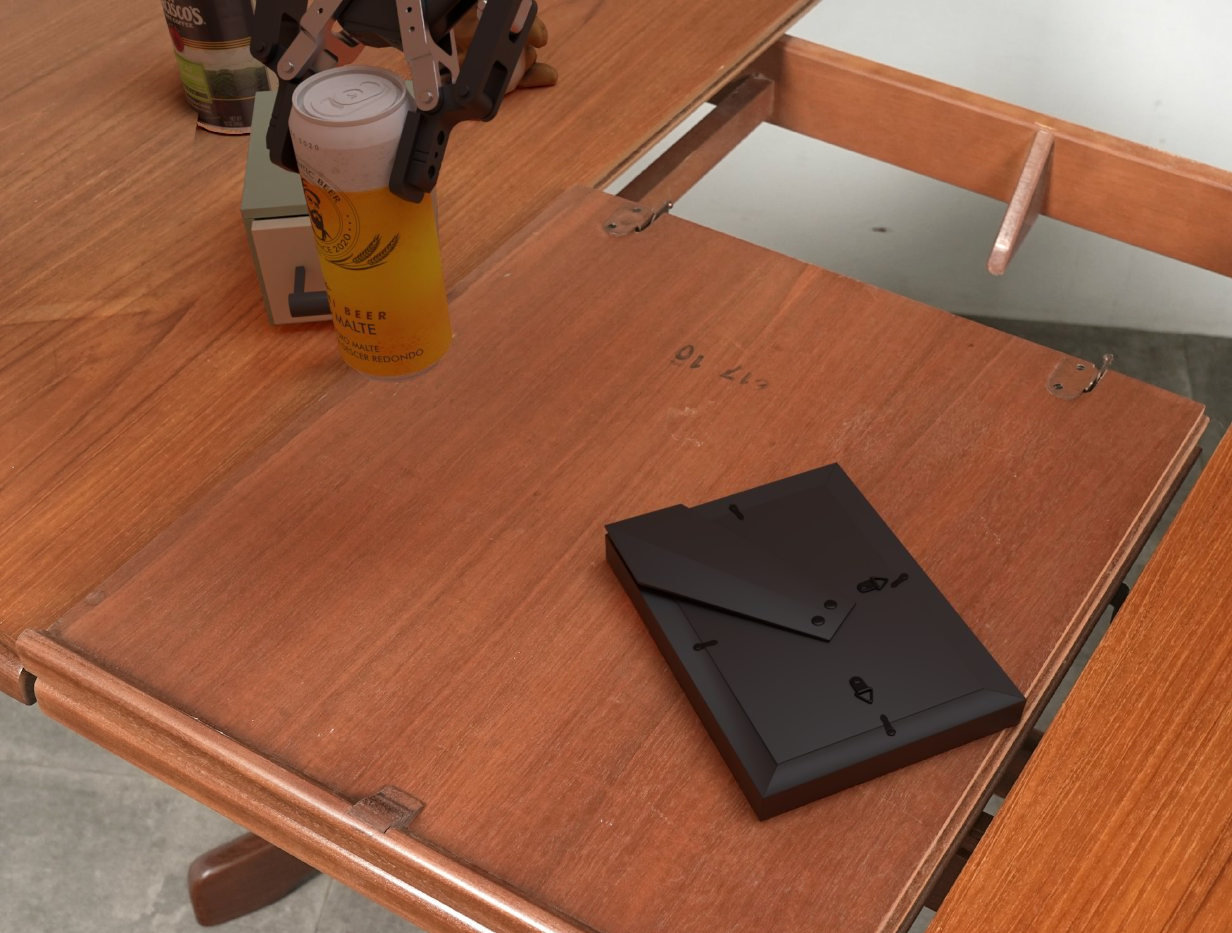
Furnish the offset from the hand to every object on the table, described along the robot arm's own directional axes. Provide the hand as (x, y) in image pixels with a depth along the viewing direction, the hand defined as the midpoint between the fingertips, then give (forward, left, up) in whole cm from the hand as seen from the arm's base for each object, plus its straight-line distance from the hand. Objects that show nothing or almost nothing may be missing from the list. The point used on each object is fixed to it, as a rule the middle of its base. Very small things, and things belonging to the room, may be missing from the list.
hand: (344, 182), depth 65 cm
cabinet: (-4, +34, -25) cm, 42 cm away
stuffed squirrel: (+7, +61, -26) cm, 66 cm away
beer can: (+1, +2, -11) cm, 12 cm away
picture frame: (+22, -9, -26) cm, 35 cm away
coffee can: (-14, +59, -26) cm, 65 cm away
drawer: (-4, +29, -24) cm, 38 cm away
